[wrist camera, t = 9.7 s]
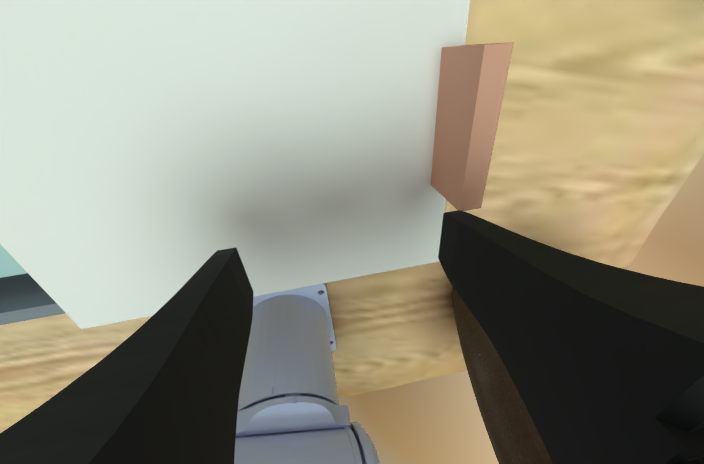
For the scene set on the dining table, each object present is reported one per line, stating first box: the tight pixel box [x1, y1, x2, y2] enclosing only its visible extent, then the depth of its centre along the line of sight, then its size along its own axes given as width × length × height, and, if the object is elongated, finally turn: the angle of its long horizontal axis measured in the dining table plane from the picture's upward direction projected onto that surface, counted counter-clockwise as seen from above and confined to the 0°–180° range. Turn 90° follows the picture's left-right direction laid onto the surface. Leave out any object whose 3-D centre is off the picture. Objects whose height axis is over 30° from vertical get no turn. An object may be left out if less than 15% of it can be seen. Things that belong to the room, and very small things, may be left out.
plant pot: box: [452, 288, 553, 464], centre depth 22 cm, size 15×15×16 cm
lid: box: [0, 0, 514, 329], centre depth 11 cm, size 17×21×4 cm
